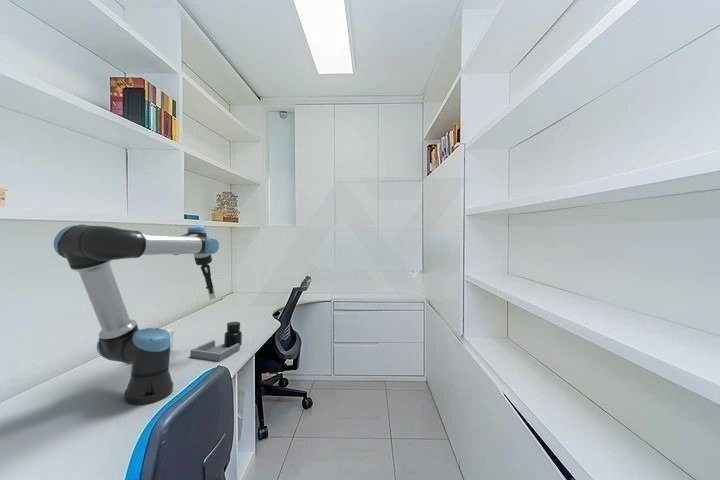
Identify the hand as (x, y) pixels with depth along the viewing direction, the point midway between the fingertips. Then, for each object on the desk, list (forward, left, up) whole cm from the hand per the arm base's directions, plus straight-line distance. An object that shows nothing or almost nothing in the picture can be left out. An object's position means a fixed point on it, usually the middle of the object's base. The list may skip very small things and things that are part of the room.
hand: (211, 293), depth 161 cm
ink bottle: (+11, -6, -30) cm, 33 cm away
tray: (-3, -6, -30) cm, 31 cm away
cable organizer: (-15, +18, -30) cm, 38 cm away
